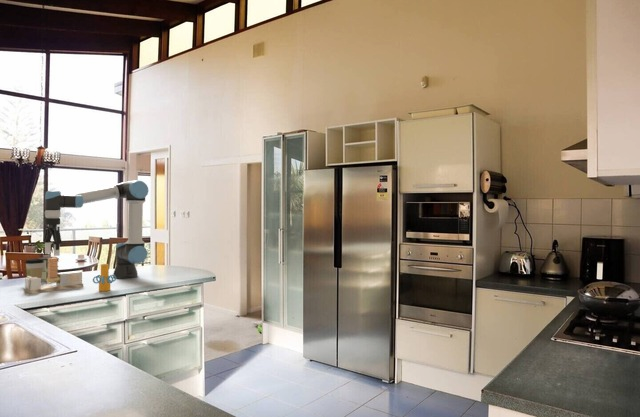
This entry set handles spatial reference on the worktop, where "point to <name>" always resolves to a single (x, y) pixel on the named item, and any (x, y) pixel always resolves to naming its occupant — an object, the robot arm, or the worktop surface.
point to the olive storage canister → (34, 267)
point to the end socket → (32, 283)
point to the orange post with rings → (104, 278)
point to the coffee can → (45, 267)
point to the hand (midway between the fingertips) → (52, 254)
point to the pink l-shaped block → (52, 271)
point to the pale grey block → (69, 278)
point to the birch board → (52, 288)
